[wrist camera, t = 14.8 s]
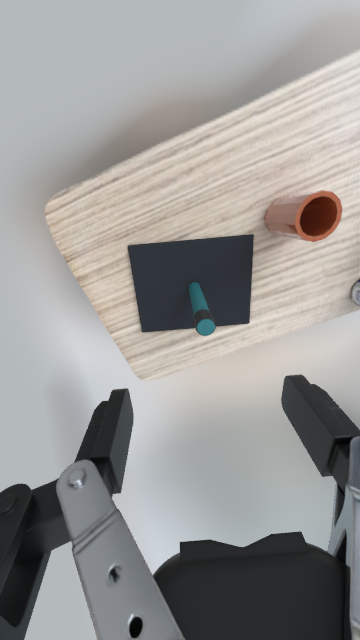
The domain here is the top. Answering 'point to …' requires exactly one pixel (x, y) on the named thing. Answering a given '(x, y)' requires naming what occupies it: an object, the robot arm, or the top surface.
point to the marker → (201, 311)
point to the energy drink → (356, 293)
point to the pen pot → (304, 215)
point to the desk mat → (192, 280)
